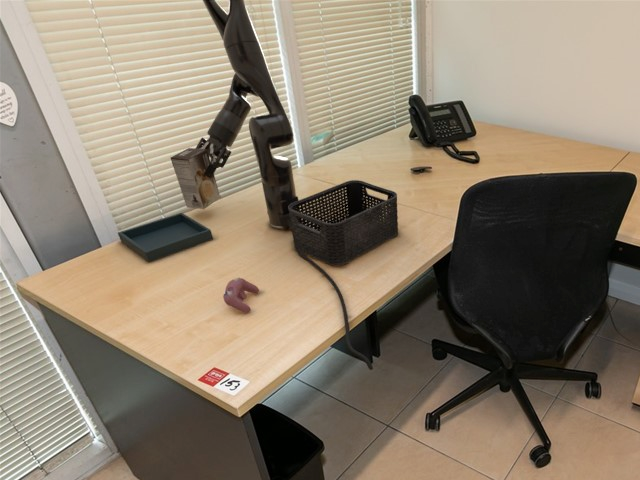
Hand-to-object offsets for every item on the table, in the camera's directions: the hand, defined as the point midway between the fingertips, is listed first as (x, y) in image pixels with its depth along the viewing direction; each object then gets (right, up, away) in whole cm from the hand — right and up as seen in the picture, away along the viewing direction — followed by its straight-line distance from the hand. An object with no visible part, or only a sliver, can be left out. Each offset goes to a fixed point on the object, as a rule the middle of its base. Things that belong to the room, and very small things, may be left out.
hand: (200, 173), depth 160 cm
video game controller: (+28, -41, -32) cm, 59 cm away
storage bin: (+47, -22, -4) cm, 52 cm away
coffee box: (-1, -9, +4) cm, 9 cm away
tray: (-5, -22, -10) cm, 25 cm away
